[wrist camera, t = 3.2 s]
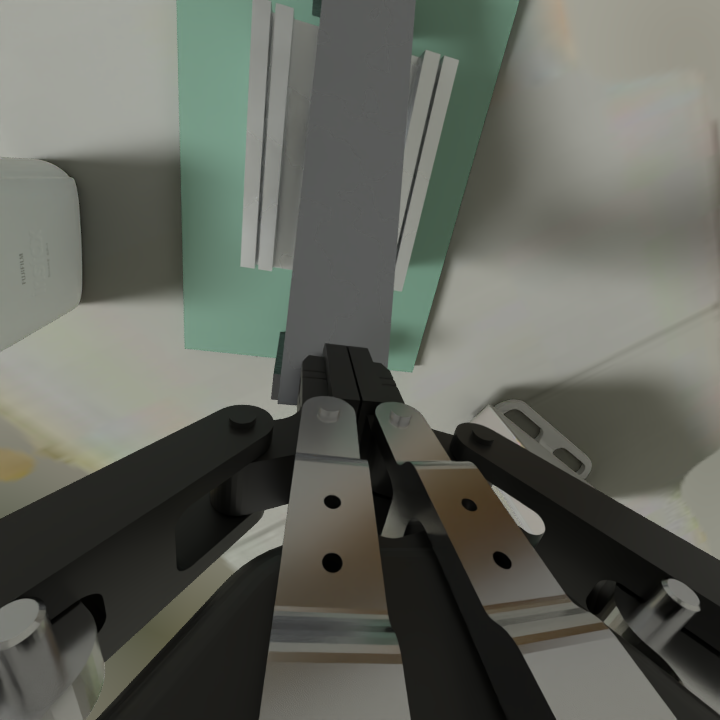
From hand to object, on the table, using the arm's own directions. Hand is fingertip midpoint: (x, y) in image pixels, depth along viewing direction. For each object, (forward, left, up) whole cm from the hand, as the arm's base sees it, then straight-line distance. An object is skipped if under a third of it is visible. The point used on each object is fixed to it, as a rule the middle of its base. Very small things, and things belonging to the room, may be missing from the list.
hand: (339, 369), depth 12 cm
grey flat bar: (-7, 0, -7) cm, 9 cm away
